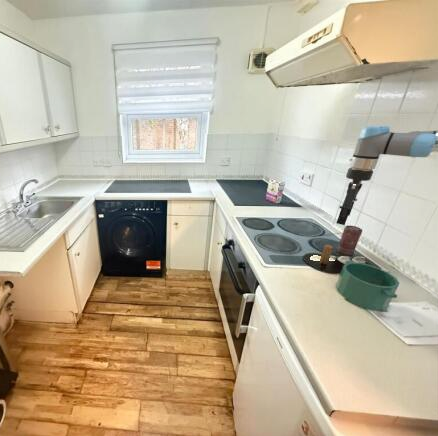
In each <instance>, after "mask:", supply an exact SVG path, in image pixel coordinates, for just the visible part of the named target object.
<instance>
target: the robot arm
mask: <svg viewBox="0 0 438 436" xmlns="http://www.w3.org/2000/svg"><path fill="white" fill-rule="evenodd" d="M390 129H391V127H390V126H388V125H387V126H385V125H384V126H383V125H366V126H364V127H363V128H362V129H361V132H360V134H359V136H358V138H357V142H356V145H355V147H354V152H353V154H352V156H351V158H350V159H348V161H349V162H350V163H349V168H347V172H346V175H345V177H346V179H349V180H352V181H350V182H349V183H348V185H347V190H346V195H345V198H344V200H343V203H342V205H339V209H340V211H339V214H338V218H337V219H336V222H335V224H337V225H342V226H345V225H346V222H347V221H348V217H350V216H351V213H352V210H353V207H354V205H355V202H358V198H357V196H358V194H359V192H360V191H361V189H362V188H363V187H362V186H363V183H362V182H367V181H371V179H372V178H373V174H374V170H376V166H377V164H378V163H379V159H380V157H381V155H387V156H399V157H410V158H427V157H429V156H430V155H431V153H438V130H422V131H420V130H415V131H414V130H413V131H410V132H409V131H408V132H392V131H390Z"/></svg>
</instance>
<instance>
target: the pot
mask: <svg viewBox="0 0 438 436" xmlns="http://www.w3.org/2000/svg"><path fill="white" fill-rule="evenodd" d="M399 286H400V281H399V280H398V279H397V277H396V276H395V275H393V274H391V273H390V272H388V271H386V270H384V269H382V268H380V267H377V266H374V265H371V264H367V263H362V262H356V261H354V260H353V259H352V260H351V259H350V260H349V259H346V260H345V263H344V266H343V268H342V271H341V274H339V277H338V279H337V282H336V284H335V289H336V291H337V292H338V293H339V294H340V295H341V297H343V299H344V300H346V301H347V302H349V303H350V304H353V305H355V306H357V307H360V308H362V309H365V310H371V311H378V310H379V311H385V310H386V309H388V308H389V306H390V303H391V302H392V300H393V299H397V298H398V295H397V294H396V292H397V290H398V287H399ZM384 309H385V310H384Z"/></svg>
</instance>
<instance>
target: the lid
mask: <svg viewBox="0 0 438 436" xmlns="http://www.w3.org/2000/svg"><path fill="white" fill-rule="evenodd" d="M333 249H334V247H333V246H332V245H330V244H325V245H324V247H323V251H322V253H317V252H309V253H304V255H302V261H303V262H304V263H305V265H307V266H309V267H310V268H312V269H314V270H316V271H319V272H322V273H325V274H332V275H340V274H341V271H342V268H343V266H344V265H345V263H343V262H342V261H341V260H338V259H336V258H335V259H336V260H335V261H329V258H330V257H331V254H332V252H333ZM313 255H318V256H321V259H320V261H313V260H310V257H311V256H313Z"/></svg>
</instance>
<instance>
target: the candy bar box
mask: <svg viewBox="0 0 438 436" xmlns="http://www.w3.org/2000/svg"><path fill="white" fill-rule="evenodd" d="M285 185H286V182H285V181H282V180H278V179H275V178H274V179H269V180H268V184H267V189H266V194H265V198H264V199H265V201H267V202H270V203H272V204H275V205H279V204H281V202H282V198H283V193H284V189H285Z"/></svg>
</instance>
